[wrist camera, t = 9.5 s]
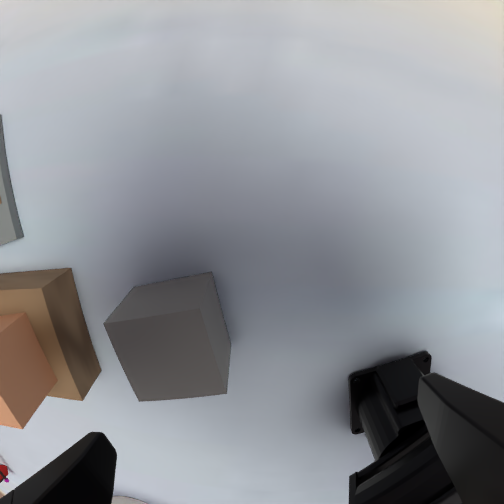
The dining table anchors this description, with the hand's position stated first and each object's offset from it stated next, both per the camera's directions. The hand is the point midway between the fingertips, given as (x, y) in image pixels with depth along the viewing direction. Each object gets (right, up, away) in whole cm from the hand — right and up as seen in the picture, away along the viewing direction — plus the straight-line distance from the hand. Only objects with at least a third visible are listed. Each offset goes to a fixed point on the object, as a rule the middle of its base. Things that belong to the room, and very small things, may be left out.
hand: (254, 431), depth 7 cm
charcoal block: (-4, +1, +12) cm, 13 cm away
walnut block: (-16, -1, +13) cm, 20 cm away
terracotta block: (-16, -2, +9) cm, 18 cm away
